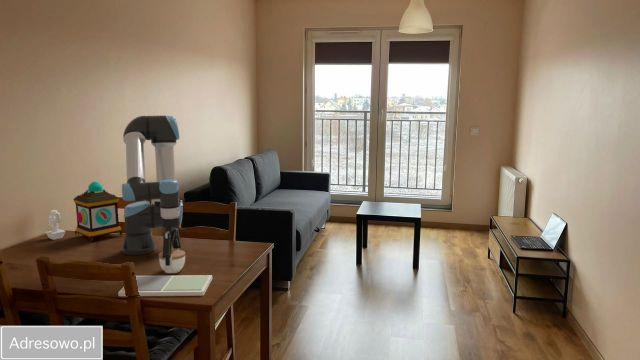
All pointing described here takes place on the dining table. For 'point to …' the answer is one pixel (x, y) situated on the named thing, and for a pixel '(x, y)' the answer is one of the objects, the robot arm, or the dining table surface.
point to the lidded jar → (174, 260)
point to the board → (171, 285)
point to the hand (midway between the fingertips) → (172, 267)
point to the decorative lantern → (96, 212)
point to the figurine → (55, 226)
